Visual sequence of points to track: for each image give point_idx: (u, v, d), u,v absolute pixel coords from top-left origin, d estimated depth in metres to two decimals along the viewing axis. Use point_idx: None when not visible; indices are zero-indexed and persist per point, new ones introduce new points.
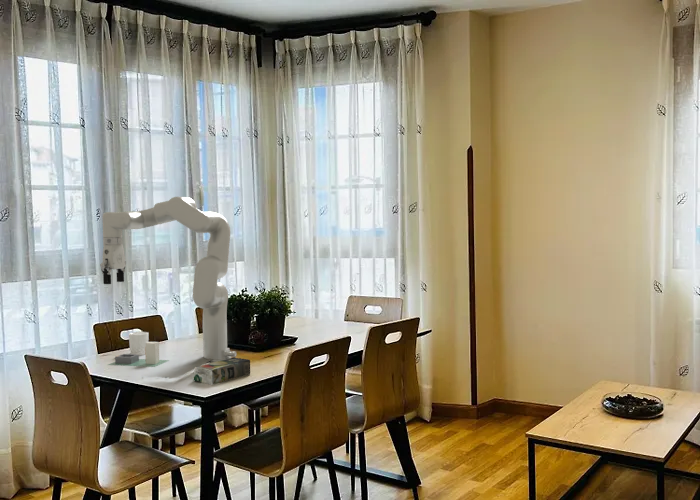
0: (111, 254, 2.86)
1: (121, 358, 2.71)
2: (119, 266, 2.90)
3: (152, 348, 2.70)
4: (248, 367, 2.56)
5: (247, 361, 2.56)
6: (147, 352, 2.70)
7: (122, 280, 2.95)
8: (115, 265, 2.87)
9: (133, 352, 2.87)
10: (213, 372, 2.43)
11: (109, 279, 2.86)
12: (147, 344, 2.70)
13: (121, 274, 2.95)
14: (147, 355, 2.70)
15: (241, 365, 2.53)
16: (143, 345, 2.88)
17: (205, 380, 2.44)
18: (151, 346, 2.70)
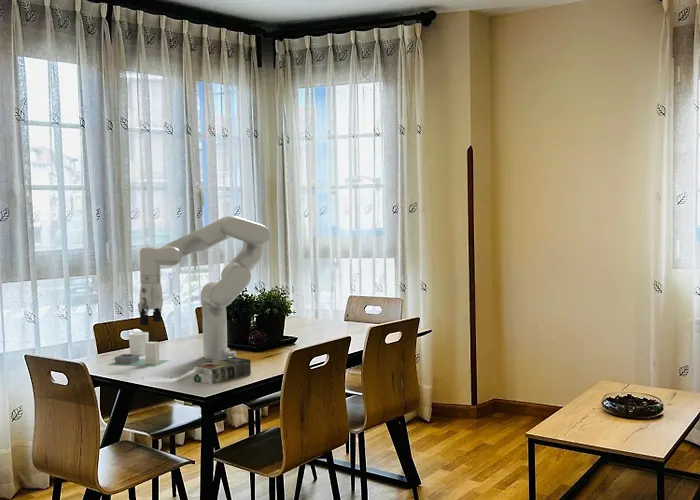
0: (149, 293, 2.65)
1: (121, 358, 2.71)
2: (157, 305, 2.70)
3: (152, 348, 2.70)
4: (248, 367, 2.57)
5: (248, 361, 2.56)
6: (147, 352, 2.70)
7: (159, 320, 2.75)
8: (153, 305, 2.67)
9: (133, 352, 2.87)
10: (213, 372, 2.44)
11: (146, 320, 2.65)
12: (147, 344, 2.70)
13: (158, 313, 2.75)
14: (147, 355, 2.70)
15: (241, 365, 2.53)
16: (143, 345, 2.88)
17: (205, 380, 2.45)
18: (151, 346, 2.70)
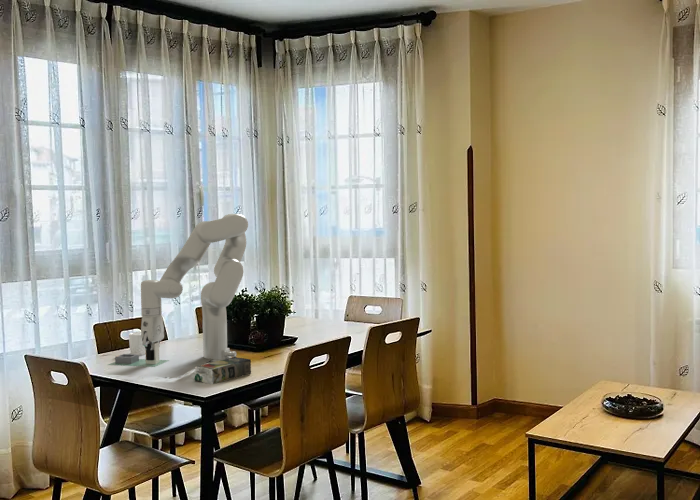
0: (150, 326, 2.66)
1: (121, 358, 2.71)
2: (158, 338, 2.70)
3: None
4: (249, 367, 2.57)
5: (248, 360, 2.57)
6: None
7: None
8: (154, 338, 2.68)
9: (133, 352, 2.87)
10: (214, 371, 2.44)
11: (152, 355, 2.69)
12: None
13: None
14: None
15: (241, 364, 2.54)
16: None
17: (205, 379, 2.45)
18: None
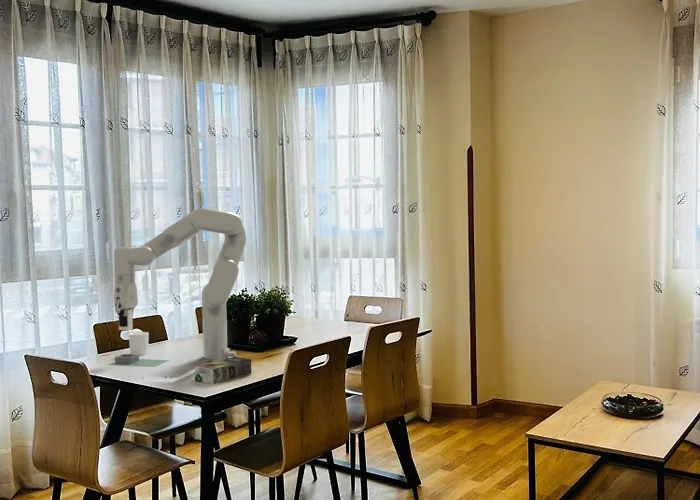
0: (123, 292, 2.68)
1: (121, 358, 2.71)
2: (131, 305, 2.72)
3: None
4: (249, 366, 2.57)
5: (248, 360, 2.57)
6: None
7: None
8: (127, 304, 2.69)
9: (133, 352, 2.87)
10: (214, 371, 2.44)
11: (125, 321, 2.71)
12: None
13: None
14: None
15: (242, 364, 2.54)
16: (143, 345, 2.88)
17: (206, 379, 2.45)
18: None
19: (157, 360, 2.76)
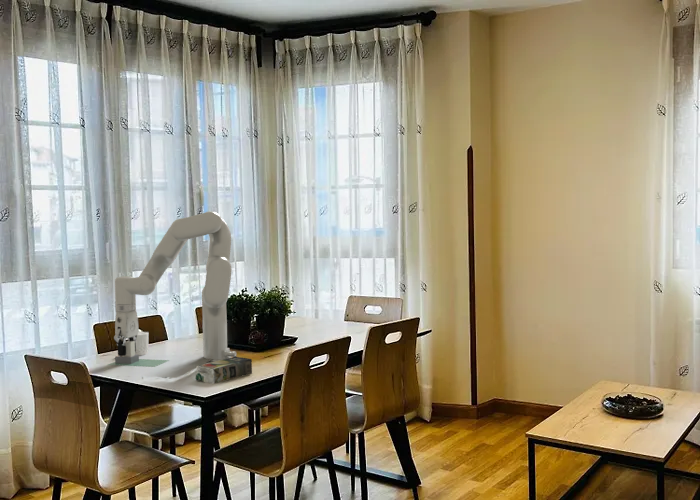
0: (124, 322, 2.68)
1: (121, 358, 2.71)
2: (132, 334, 2.73)
3: (127, 347, 2.72)
4: (250, 366, 2.58)
5: (249, 360, 2.58)
6: None
7: None
8: (128, 334, 2.70)
9: None
10: (215, 371, 2.45)
11: (124, 350, 2.70)
12: None
13: None
14: None
15: (242, 364, 2.55)
16: (143, 345, 2.88)
17: (207, 379, 2.46)
18: (127, 345, 2.72)
19: (157, 360, 2.76)
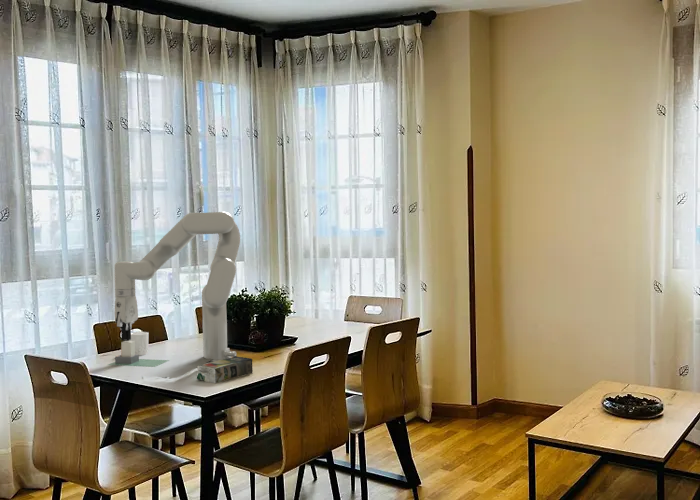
0: (123, 307, 2.68)
1: (121, 358, 2.71)
2: (132, 319, 2.72)
3: (127, 347, 2.72)
4: (250, 366, 2.58)
5: (249, 360, 2.58)
6: (123, 351, 2.73)
7: (129, 338, 2.73)
8: (128, 318, 2.70)
9: None
10: (216, 371, 2.45)
11: (127, 335, 2.73)
12: (123, 343, 2.73)
13: None
14: (123, 354, 2.73)
15: (243, 364, 2.55)
16: (143, 345, 2.88)
17: (208, 379, 2.46)
18: (127, 345, 2.72)
19: (157, 360, 2.76)
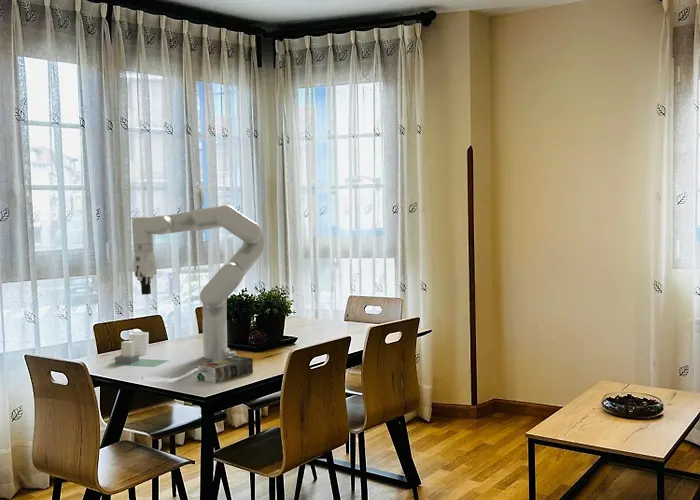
0: (143, 261, 2.73)
1: (121, 358, 2.71)
2: (151, 273, 2.77)
3: (127, 347, 2.72)
4: (251, 366, 2.59)
5: (250, 359, 2.59)
6: (123, 351, 2.73)
7: None
8: (147, 272, 2.75)
9: None
10: (216, 370, 2.45)
11: (147, 289, 2.77)
12: (123, 343, 2.73)
13: None
14: (123, 354, 2.73)
15: (243, 363, 2.55)
16: (143, 345, 2.88)
17: (208, 378, 2.46)
18: (127, 345, 2.72)
19: (157, 360, 2.76)
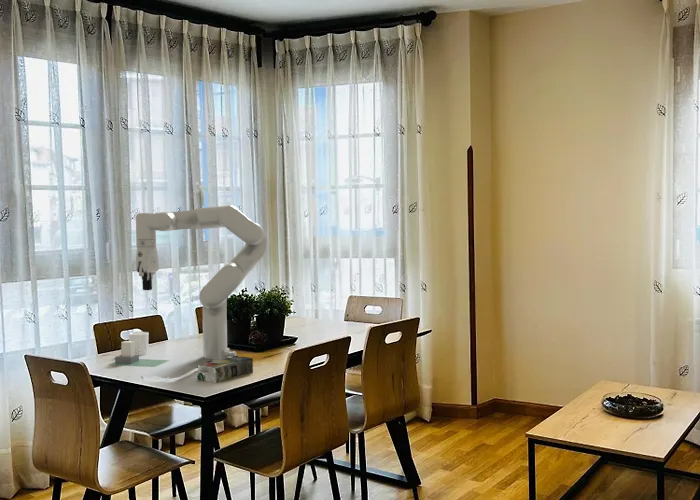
0: (145, 257, 2.74)
1: (121, 358, 2.71)
2: (153, 269, 2.78)
3: (127, 347, 2.72)
4: (251, 365, 2.59)
5: (250, 359, 2.59)
6: (123, 351, 2.73)
7: None
8: (149, 268, 2.75)
9: None
10: (217, 370, 2.46)
11: (149, 285, 2.78)
12: (123, 343, 2.73)
13: None
14: (123, 354, 2.73)
15: (243, 363, 2.56)
16: (143, 345, 2.88)
17: (208, 378, 2.47)
18: (127, 345, 2.72)
19: (157, 360, 2.76)
